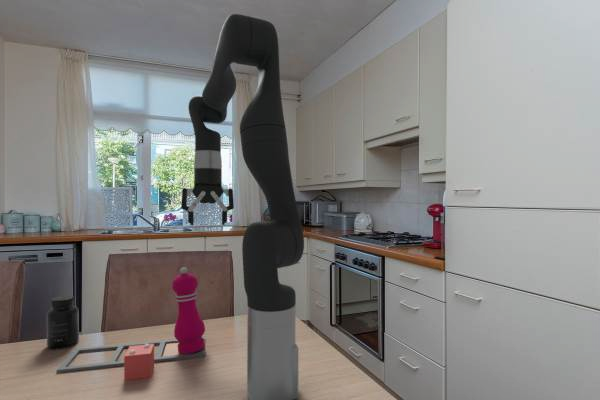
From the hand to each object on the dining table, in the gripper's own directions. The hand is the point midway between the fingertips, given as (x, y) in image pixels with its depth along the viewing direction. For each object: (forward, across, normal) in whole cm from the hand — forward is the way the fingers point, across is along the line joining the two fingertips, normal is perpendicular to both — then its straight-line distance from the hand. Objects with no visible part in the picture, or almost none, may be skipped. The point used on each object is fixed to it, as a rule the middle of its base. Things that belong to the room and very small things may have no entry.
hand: (208, 224), depth 98 cm
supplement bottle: (+30, -36, 0) cm, 47 cm away
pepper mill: (+30, -4, -13) cm, 33 cm away
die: (+30, -14, -21) cm, 39 cm away
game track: (+30, -16, -11) cm, 36 cm away
